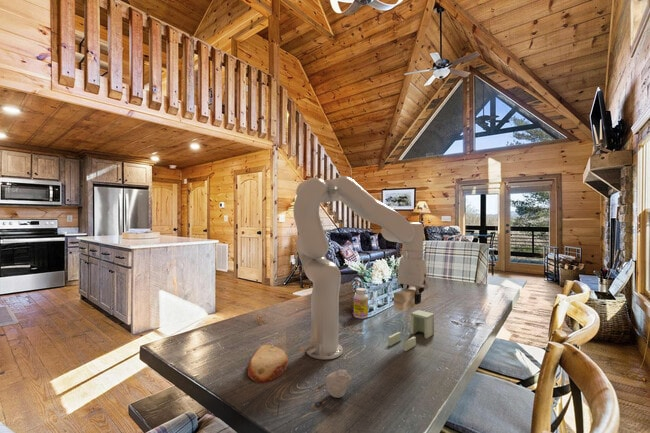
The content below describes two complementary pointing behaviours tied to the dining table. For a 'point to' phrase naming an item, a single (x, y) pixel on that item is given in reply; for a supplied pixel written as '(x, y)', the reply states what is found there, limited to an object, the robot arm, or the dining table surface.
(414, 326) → the end cap
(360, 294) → the supplement bottle
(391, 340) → the cradle
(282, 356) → the slice of bread
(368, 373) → the dining table surface
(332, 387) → the pale grey rounded lump
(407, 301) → the tan rectangular block
